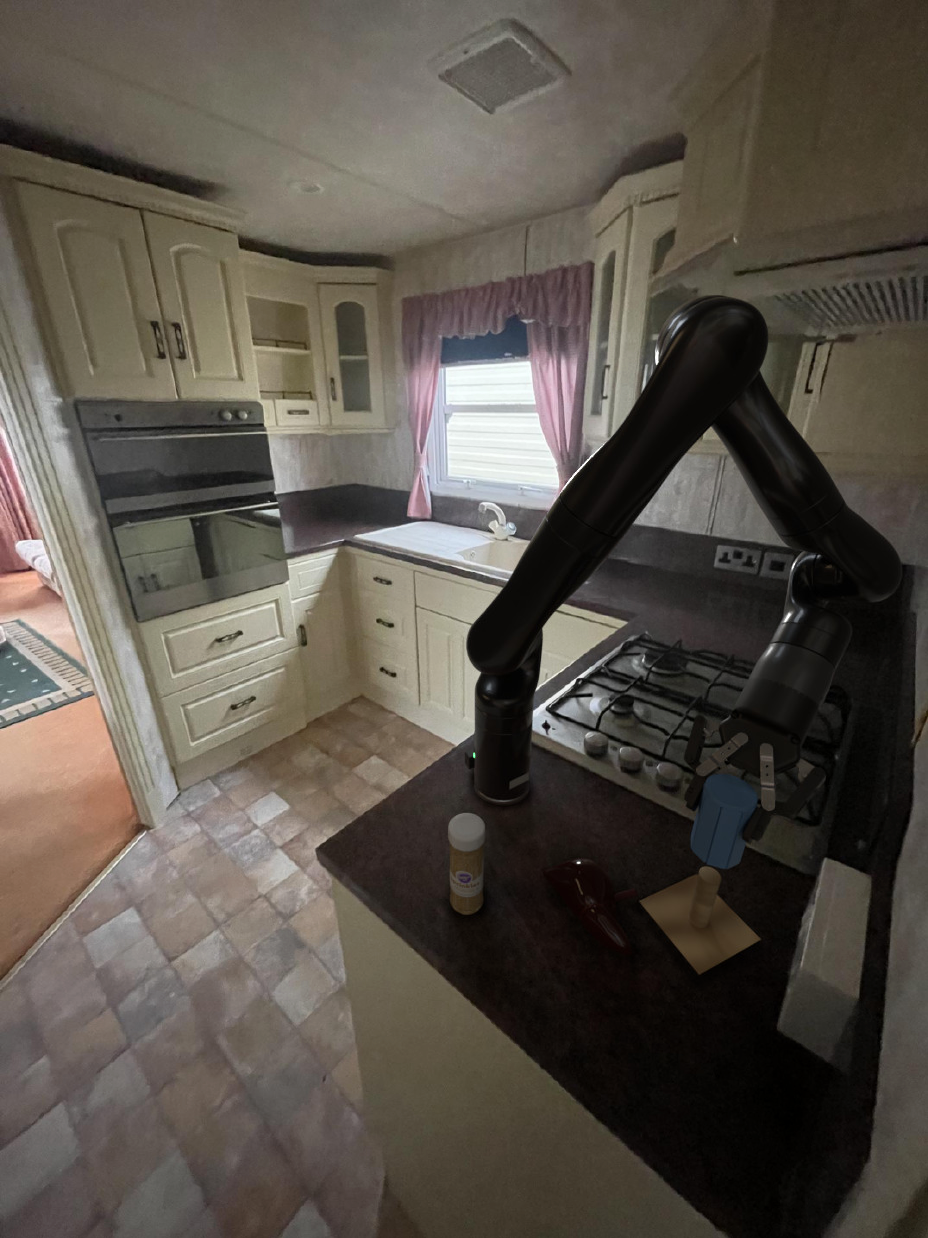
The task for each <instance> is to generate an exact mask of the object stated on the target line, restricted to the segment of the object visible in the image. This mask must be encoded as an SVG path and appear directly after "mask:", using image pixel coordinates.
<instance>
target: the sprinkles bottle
mask: <svg viewBox="0 0 928 1238" xmlns="http://www.w3.org/2000/svg"><path fill="white" fill-rule="evenodd" d="M447 831H448V832H447V838H448V842H449V886H450V894H449V903H450V905H451V907H452V908H453V910H454V911H455V912H457V913H458V914H459V913H460V915H465V916H468V915H472V914H475V913H477V912H479V910H480V909H481V908H482V907H483V904H484V900H485V898H484V878H485V877H484V873H485V871H484V869H485V853H484V848H485V847H484V846H485V841H486V824H485V822H484V820H483V819H482V818H481V817H480V816H478V815H477V814H474V813H471V812H463V813H459V814H457V815H454V817H452V818H451V819H450V821H449V823H448V828H447Z"/></svg>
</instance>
